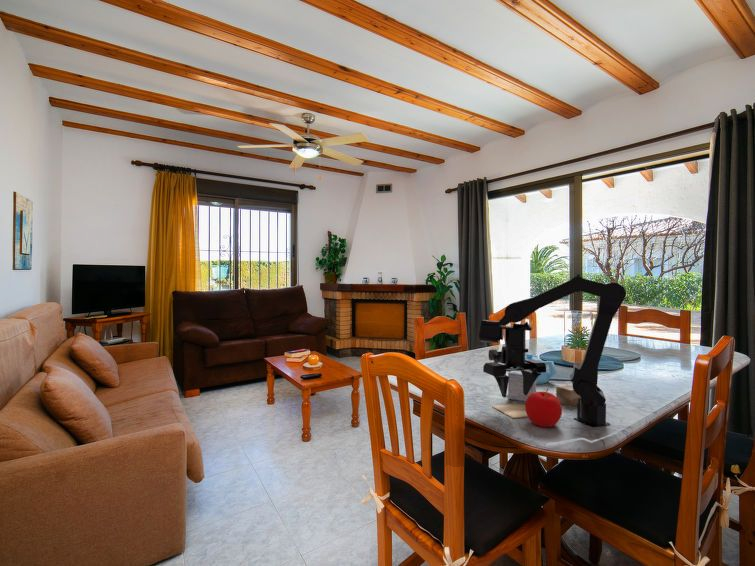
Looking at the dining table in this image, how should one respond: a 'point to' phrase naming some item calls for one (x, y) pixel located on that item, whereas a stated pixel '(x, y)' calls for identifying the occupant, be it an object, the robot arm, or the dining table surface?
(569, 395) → the walnut cube
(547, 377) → the teapot
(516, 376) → the medicine box
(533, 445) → the dining table surface
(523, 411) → the cork pad
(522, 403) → the tile
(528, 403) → the fruit
